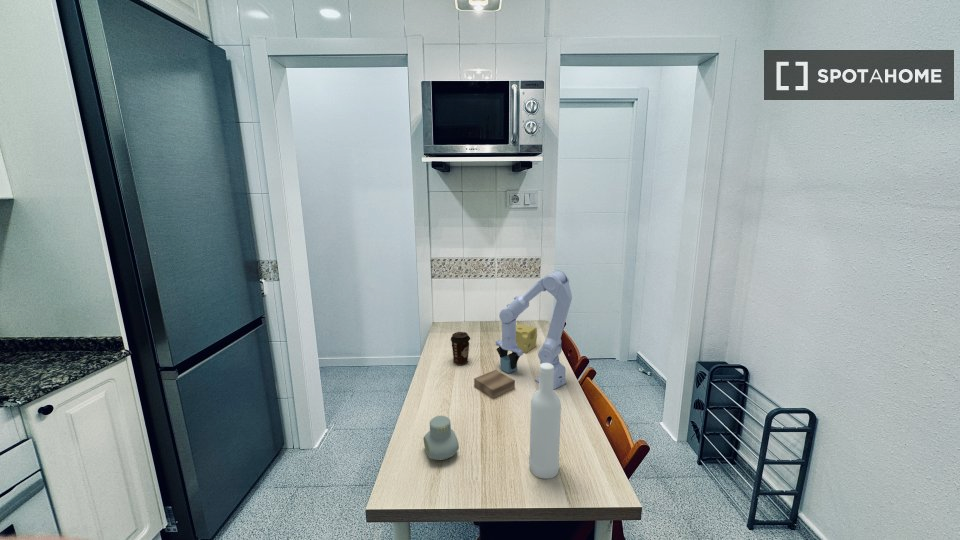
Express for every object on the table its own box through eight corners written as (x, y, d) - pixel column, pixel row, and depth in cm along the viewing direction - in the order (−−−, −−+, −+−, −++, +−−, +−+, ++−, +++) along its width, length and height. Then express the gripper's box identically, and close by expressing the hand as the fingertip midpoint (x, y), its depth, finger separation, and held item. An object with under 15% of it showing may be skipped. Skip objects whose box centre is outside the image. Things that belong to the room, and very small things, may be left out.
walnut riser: (514, 390, 138) (514, 380, 137) (492, 400, 131) (492, 390, 131) (495, 378, 146) (495, 369, 146) (474, 387, 140) (474, 378, 139)
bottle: (555, 457, 102) (558, 358, 96) (562, 479, 94) (566, 372, 88) (526, 458, 102) (528, 359, 95) (531, 480, 94) (533, 373, 88)
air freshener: (422, 444, 108) (420, 414, 106) (448, 437, 111) (447, 407, 109) (432, 469, 98) (431, 436, 96) (461, 460, 101) (460, 428, 99)
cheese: (526, 354, 168) (526, 333, 166) (506, 348, 175) (506, 328, 173) (537, 346, 176) (537, 327, 174) (518, 341, 183) (518, 322, 181)
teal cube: (517, 369, 152) (517, 358, 151) (508, 373, 149) (508, 362, 148) (509, 365, 156) (509, 354, 155) (500, 368, 153) (500, 357, 152)
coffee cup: (471, 358, 164) (471, 331, 162) (469, 366, 156) (469, 338, 153) (452, 357, 165) (452, 330, 162) (449, 366, 157) (448, 337, 154)
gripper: (528, 338, 146) (527, 369, 149) (504, 328, 158) (504, 357, 160) (515, 342, 142) (515, 374, 145) (491, 332, 153) (492, 362, 156)
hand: (508, 366), depth 152 cm, fingers closed on teal cube, 5 cm apart
